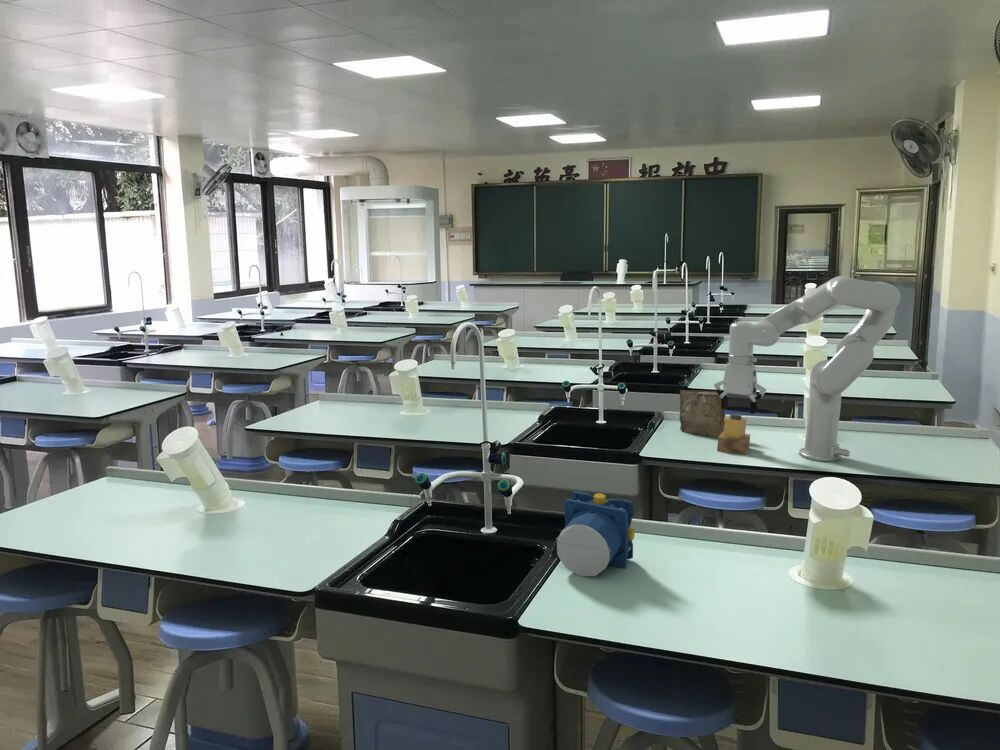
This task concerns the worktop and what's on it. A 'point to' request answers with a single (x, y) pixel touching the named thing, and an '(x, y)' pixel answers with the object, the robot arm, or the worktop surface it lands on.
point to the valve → (595, 533)
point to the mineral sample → (701, 412)
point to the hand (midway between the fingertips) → (738, 411)
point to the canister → (735, 426)
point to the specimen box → (733, 444)
